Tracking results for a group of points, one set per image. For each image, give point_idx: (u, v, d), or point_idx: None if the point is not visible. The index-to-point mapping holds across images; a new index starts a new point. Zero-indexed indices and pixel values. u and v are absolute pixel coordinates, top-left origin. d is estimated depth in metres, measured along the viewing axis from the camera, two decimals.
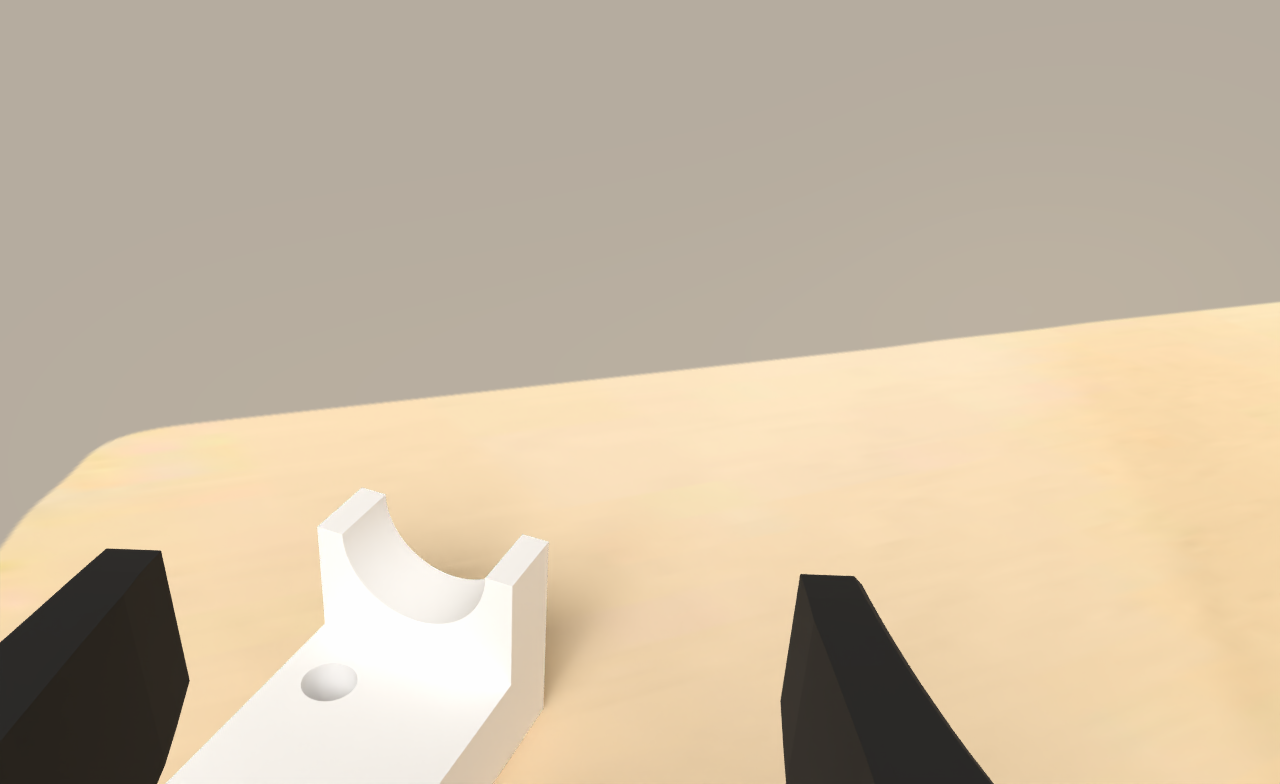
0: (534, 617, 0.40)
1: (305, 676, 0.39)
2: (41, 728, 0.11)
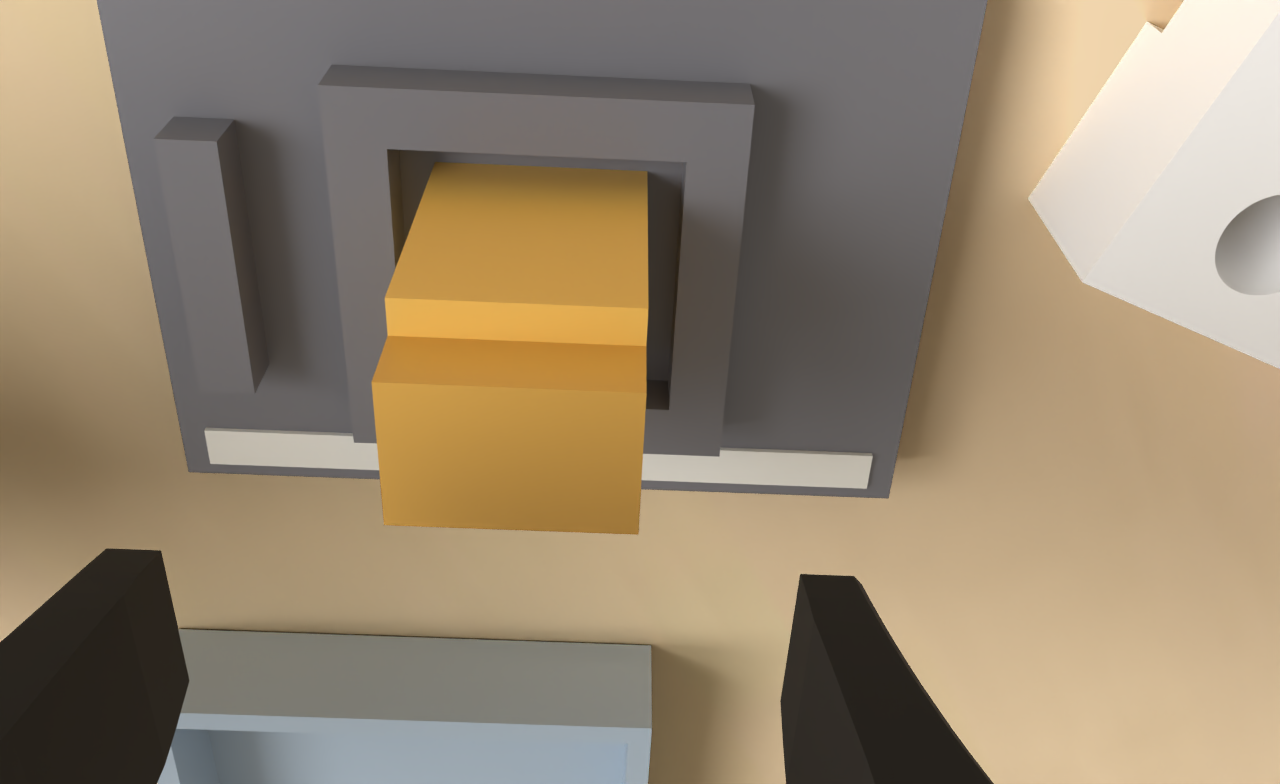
0: None
1: None
2: (41, 728, 0.11)
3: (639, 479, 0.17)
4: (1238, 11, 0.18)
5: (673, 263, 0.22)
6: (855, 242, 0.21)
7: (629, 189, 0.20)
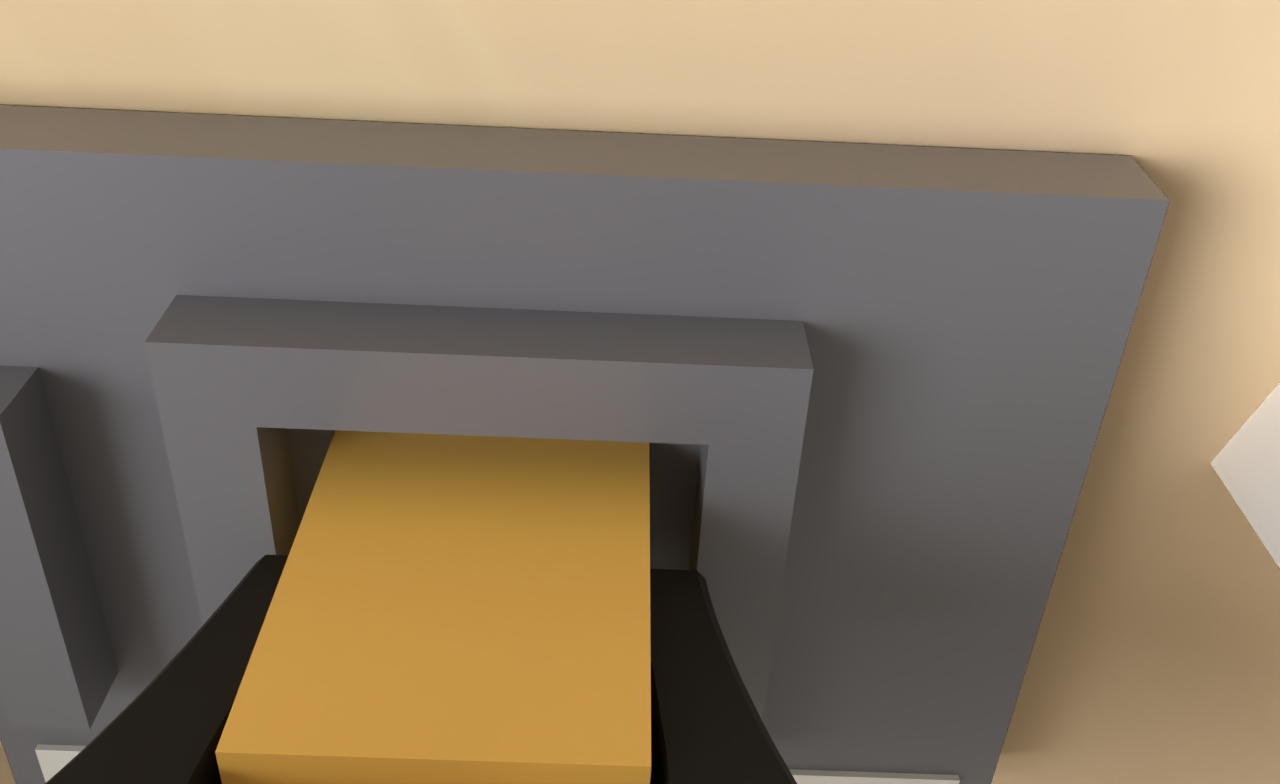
0: None
1: None
2: None
3: None
4: None
5: (686, 551, 0.15)
6: (948, 525, 0.15)
7: (622, 476, 0.13)
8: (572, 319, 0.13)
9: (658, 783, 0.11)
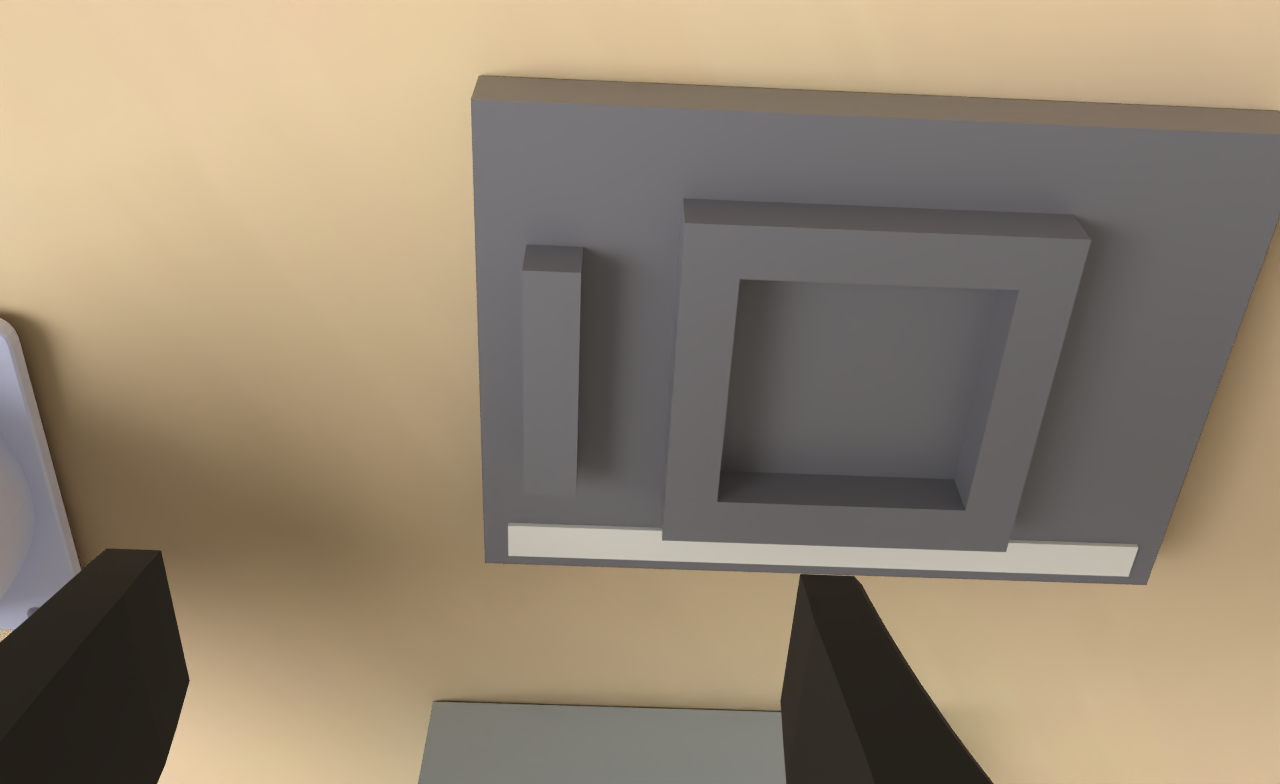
0: None
1: None
2: (41, 728, 0.11)
3: None
4: None
5: (976, 374, 0.23)
6: (1149, 355, 0.23)
7: None
8: (932, 212, 0.21)
9: None
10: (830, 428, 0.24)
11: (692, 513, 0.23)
